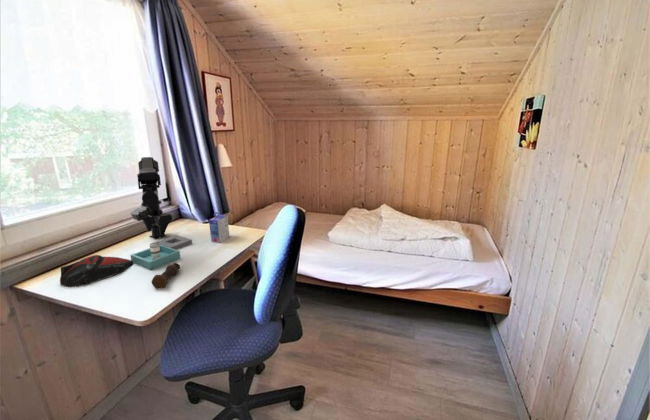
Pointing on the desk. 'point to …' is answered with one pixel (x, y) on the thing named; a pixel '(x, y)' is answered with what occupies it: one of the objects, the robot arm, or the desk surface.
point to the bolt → (165, 276)
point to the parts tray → (145, 259)
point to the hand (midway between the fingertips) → (155, 233)
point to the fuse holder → (178, 239)
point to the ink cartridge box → (219, 228)
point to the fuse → (155, 250)
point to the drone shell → (92, 270)
